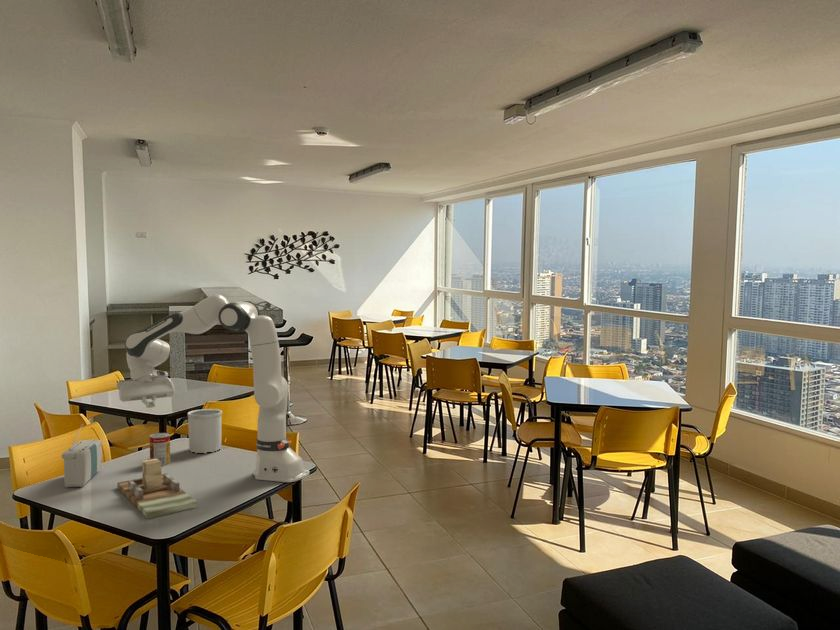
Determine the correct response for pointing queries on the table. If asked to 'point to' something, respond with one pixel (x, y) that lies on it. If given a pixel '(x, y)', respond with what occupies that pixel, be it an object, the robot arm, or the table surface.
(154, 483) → the wood block
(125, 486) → the track
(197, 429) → the utensil holder
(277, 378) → the robot arm
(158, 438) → the canned food
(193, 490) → the table surface
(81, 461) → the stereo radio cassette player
